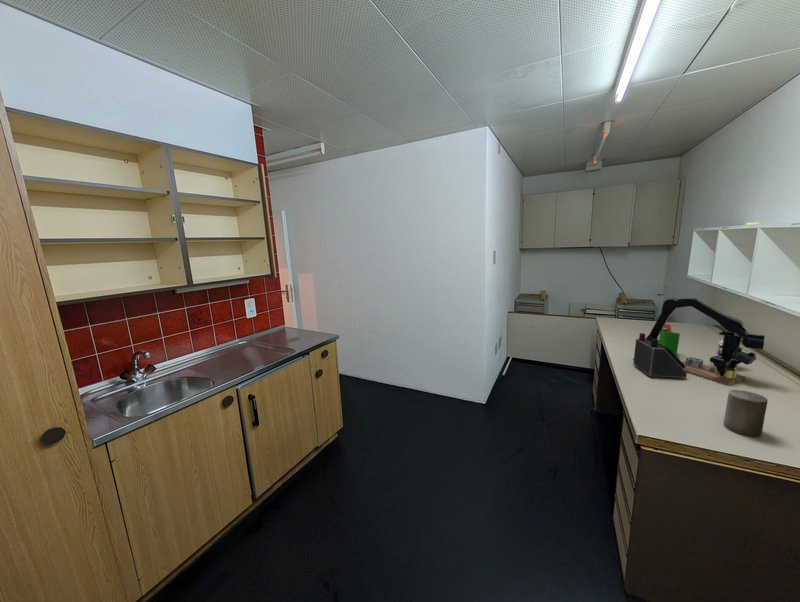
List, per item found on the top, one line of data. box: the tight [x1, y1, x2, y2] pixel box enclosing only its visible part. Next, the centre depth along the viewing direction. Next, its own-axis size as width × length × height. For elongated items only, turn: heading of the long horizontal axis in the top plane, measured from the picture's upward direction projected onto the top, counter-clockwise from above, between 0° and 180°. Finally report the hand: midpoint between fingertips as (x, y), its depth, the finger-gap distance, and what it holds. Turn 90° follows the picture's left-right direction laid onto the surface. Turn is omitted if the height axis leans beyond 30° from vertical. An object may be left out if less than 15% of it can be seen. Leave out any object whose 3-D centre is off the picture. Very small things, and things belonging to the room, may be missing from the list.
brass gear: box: [716, 367, 738, 379], centre depth 153 cm, size 7×7×4 cm
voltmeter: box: [632, 332, 688, 380], centre depth 163 cm, size 16×16×20 cm
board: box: [681, 357, 748, 386], centre depth 161 cm, size 16×24×6 cm, turn 20°
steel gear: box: [685, 356, 704, 369], centre depth 167 cm, size 7×7×4 cm
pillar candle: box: [723, 389, 768, 438], centre depth 113 cm, size 10×10×15 cm
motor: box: [658, 323, 681, 356], centre depth 186 cm, size 10×9×20 cm
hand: (725, 374), depth 154 cm, fingers closed on brass gear, 7 cm apart
